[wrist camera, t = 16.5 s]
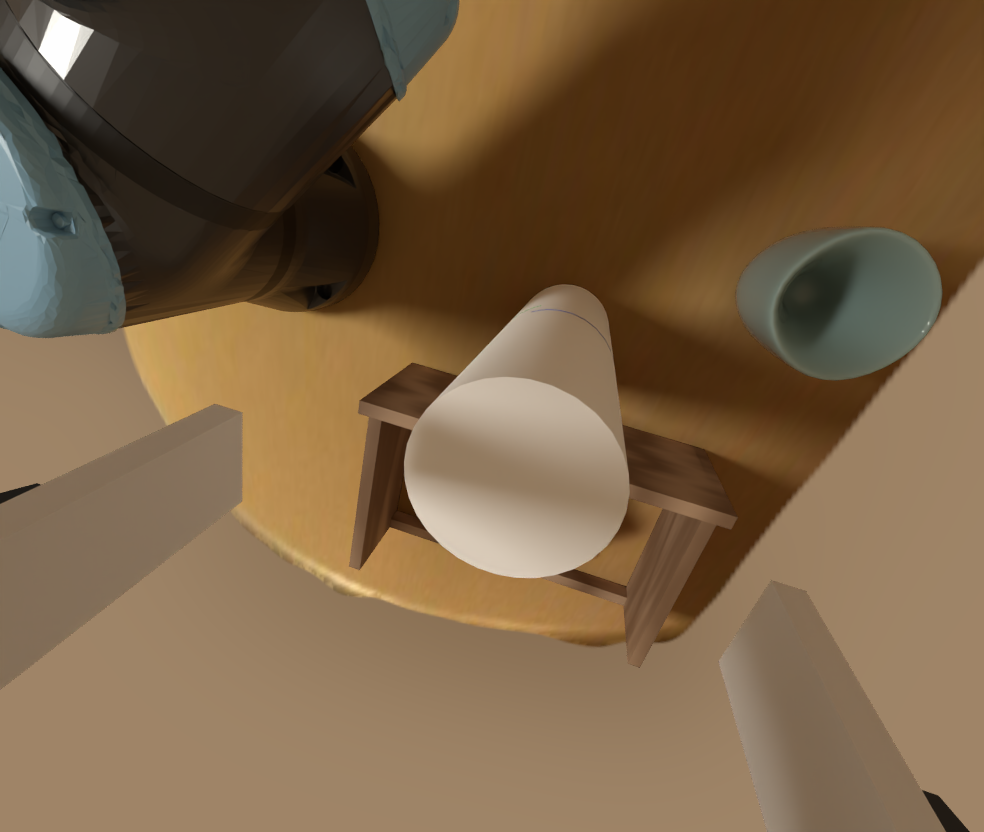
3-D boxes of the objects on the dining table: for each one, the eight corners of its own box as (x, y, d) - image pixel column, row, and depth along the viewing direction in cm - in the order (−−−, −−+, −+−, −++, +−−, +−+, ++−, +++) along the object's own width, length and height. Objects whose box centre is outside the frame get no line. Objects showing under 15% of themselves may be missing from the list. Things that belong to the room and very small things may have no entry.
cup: (702, 275, 34) (741, 292, 25) (813, 203, 31) (904, 191, 22) (755, 361, 35) (811, 407, 26) (866, 299, 32) (972, 327, 23)
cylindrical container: (607, 373, 38) (623, 588, 15) (520, 372, 39) (416, 567, 17) (610, 282, 35) (636, 378, 12) (518, 285, 37) (390, 375, 14)
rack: (386, 515, 48) (337, 582, 39) (412, 362, 41) (359, 400, 32) (632, 597, 45) (641, 689, 36) (704, 449, 38) (737, 517, 29)
